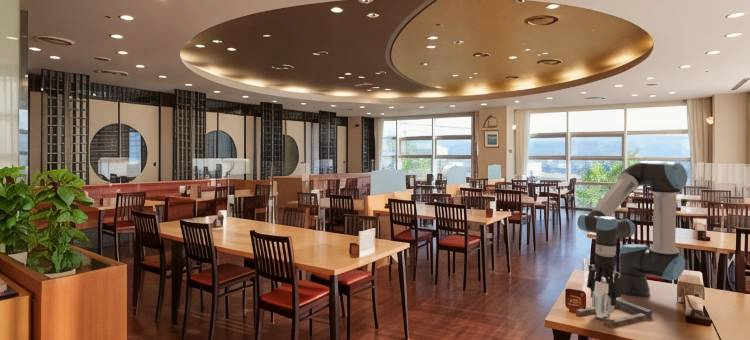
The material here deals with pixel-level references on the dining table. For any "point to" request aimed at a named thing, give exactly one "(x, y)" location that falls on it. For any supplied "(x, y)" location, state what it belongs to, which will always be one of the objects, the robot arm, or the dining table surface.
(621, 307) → the guide track
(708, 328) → the dining table surface
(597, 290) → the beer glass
